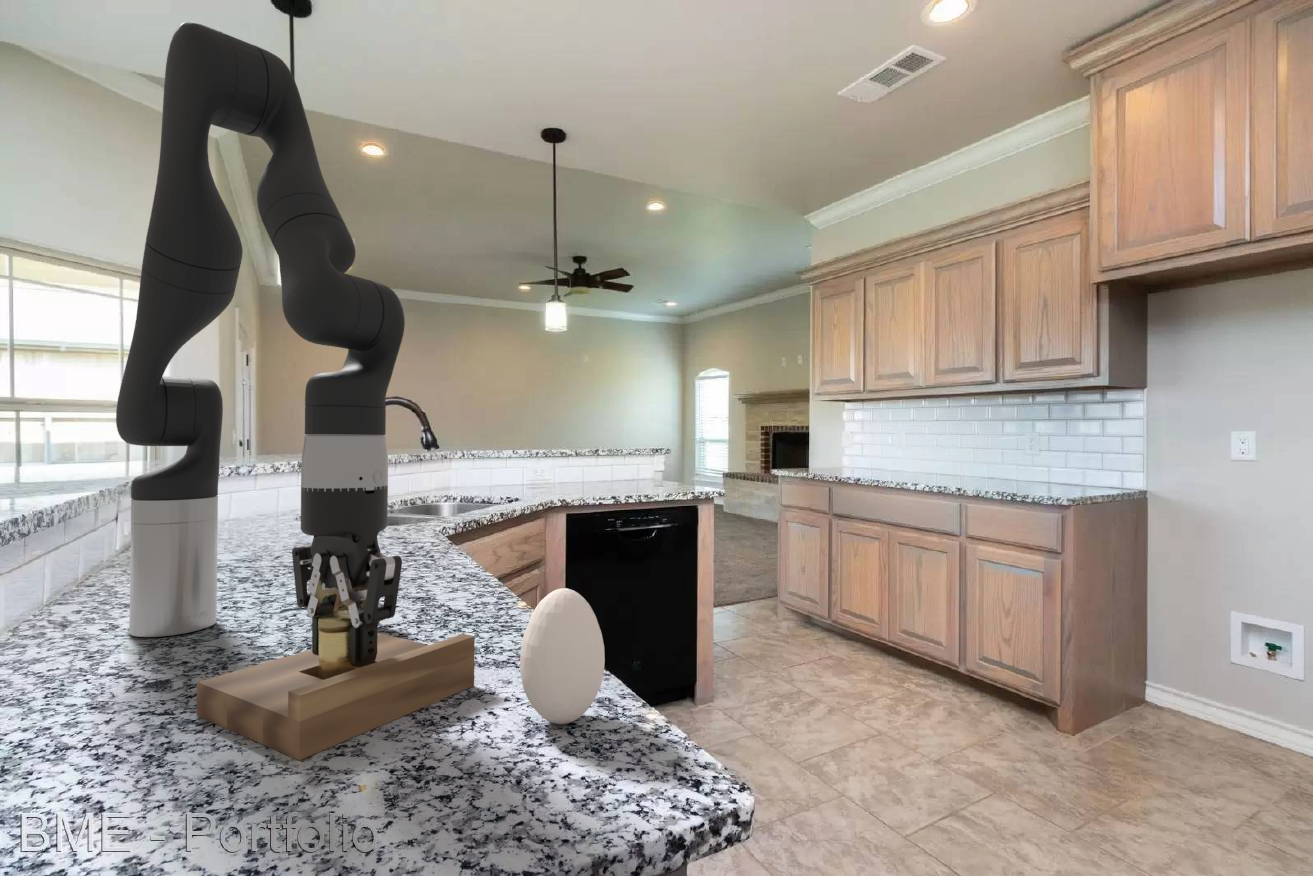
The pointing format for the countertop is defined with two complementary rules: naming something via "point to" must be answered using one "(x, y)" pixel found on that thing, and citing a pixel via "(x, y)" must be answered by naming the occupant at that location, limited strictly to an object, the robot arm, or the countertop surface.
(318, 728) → the jig
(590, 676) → the egg
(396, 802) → the countertop surface
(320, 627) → the brass cylinder peg
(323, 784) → the countertop surface
